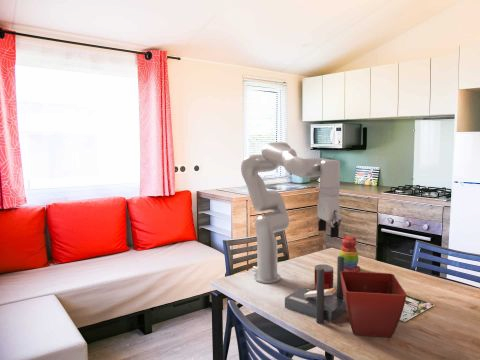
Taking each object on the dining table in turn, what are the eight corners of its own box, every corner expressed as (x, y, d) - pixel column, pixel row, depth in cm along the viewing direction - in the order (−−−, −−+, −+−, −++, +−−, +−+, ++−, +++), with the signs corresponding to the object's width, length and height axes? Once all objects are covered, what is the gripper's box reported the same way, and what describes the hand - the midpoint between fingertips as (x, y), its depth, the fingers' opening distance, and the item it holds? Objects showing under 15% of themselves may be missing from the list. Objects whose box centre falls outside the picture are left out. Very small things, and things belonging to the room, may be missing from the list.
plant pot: (405, 344, 120) (407, 294, 118) (345, 340, 123) (345, 291, 121) (391, 316, 139) (393, 273, 137) (339, 313, 142) (339, 270, 140)
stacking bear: (360, 268, 189) (361, 234, 187) (358, 275, 180) (359, 239, 178) (339, 265, 194) (340, 232, 192) (335, 272, 184) (336, 237, 182)
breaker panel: (284, 307, 147) (284, 293, 146) (301, 296, 157) (301, 283, 156) (331, 323, 134) (331, 307, 134) (346, 309, 144) (346, 295, 144)
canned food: (333, 295, 157) (333, 270, 156) (314, 294, 159) (314, 269, 158) (332, 288, 165) (333, 264, 163) (314, 287, 166) (314, 263, 165)
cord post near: (315, 322, 135) (315, 269, 132) (318, 319, 137) (319, 267, 134) (321, 324, 133) (322, 271, 131) (324, 321, 135) (325, 269, 133)
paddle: (305, 297, 146) (304, 293, 146) (310, 294, 149) (309, 290, 149) (331, 295, 138) (330, 291, 138) (336, 291, 141) (335, 287, 141)
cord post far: (335, 305, 148) (336, 257, 145) (338, 303, 150) (339, 255, 147) (341, 307, 146) (342, 258, 144) (344, 305, 148) (345, 257, 146)
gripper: (310, 188, 151) (309, 229, 154) (332, 195, 135) (330, 240, 137) (326, 187, 154) (325, 227, 156) (350, 194, 137) (348, 239, 139)
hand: (328, 233), depth 146 cm, fingers open, 9 cm apart
